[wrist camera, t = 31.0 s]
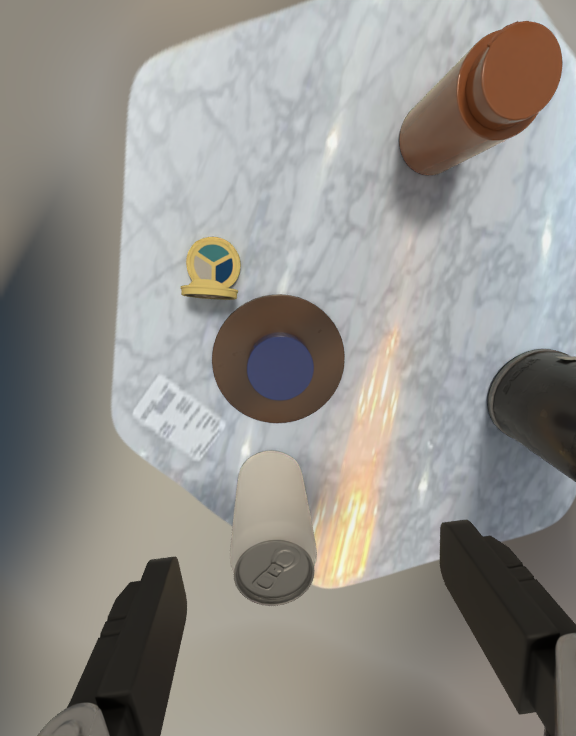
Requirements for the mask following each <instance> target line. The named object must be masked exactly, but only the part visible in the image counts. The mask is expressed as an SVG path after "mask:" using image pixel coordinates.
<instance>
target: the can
mask: <svg viewBox="0 0 576 736" xmlns="http://www.w3.org/2000/svg"><path fill="white" fill-rule="evenodd" d="M316 557H317V552H316V543H315V537H314V532H313V527H312V521H311V516H310V511H309V506H308V501H307V496H306V490H305V485H304V480H303V476H302V472H301V469H300V467H299V465H298V463H297V462H296V461H295V460H294V459H293V458H292V457H290V456H289V455H287V454H284V453H282V452H278V451H264V452H260V453H258V454H255V455H253V456H252V457H250V458H249V459H248V460H247V461H246V462H245V463H244V464H243V466H242V467H241V469H240V472H239V476H238V483H237V491H236V500H235V509H234V518H233V528H232V538H231V548H230V563H231V567H232V570H233V572H234V581H235V584H236V586H237V588H238V590H239V591H240V593H241V594H242V595H243V596H244V597H246V598H247V599H249V600H250V601H252V602H254V603H257V604H261V605H268V606H275V605H282V604H286V603H289V602H292V601H294V600H296V599H297V598H299V597H300V596H302V595H303V594H304V593H305V592H306V591H307V590H308V588H309V587H310V585H311V583H312V581H313V578H314V566H315V562H316Z"/></svg>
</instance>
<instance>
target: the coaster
mask: <svg viewBox="0 0 576 736" xmlns="http://www.w3.org/2000/svg"><path fill="white" fill-rule="evenodd" d="M277 332H282V333H288V334H291V335H294V336H295V337H297V338H299V339H300V340H301V341H302V342H303V343H304V344H305V345H306V347H307V349H308V350H309V352H310V354H311V357H312V359H313V365H314V371H313V376H312V379H311V382H310V384H309V385H308V387H307V388H306V389H305V390H304V391H303V392H302V393H301V394H299V395H298V396H296V397H294V398H291V399H288V400H272V399H268V398H266V397H264V396H262V395H261V394H259V393H258V392H257V391H256V390H255V389H254V388H253V386H252V385H251V383H250V381H249V378H248V375H247V363H248V357H249V353H250V351H251V349H252V347H253V346H254V343H256V342H257V341H258V340H259V339H261V338H262V337H264V336H266V335H268V334H272V333H277ZM212 366H213V372H214V377H215V380H216V382H217V385H218V387H219V389H220V391H221V392H222V394H223V395H224V397H225V398H226V399H227V400H228V402H229V403H230V404H231V405H232V406H233V407H235V408H236V409H237V410H238V411H240V412H242V413H243V414H245V415H247V416H249V417H251V418H253V419H256V420H259V421H264V422H269V423H286V422H292V421H296V420H299V419H302V418H304V417H307V416H309V415H311V414H312V413H314V412H316V411H317V410H318V409H320V408H321V407H322V406H323V405H324V404H325V403H326V402H327V401H328V400H329V399H330V398H331V396H332V395H333V394H334V392H335V390H336V389H337V387H338V385H339V383H340V380H341V377H342V374H343V369H344V347H343V343H342V339H341V336H340V334H339V332H338V330H337V328H336V326H335V324H334V323H333V322H332V320H331V319H330V318H329V317H328V316H327V315H326V314H325V313H324V312H323V311H322V310H321V309H320V308H318V307H317V306H316V305H314V304H312V303H310V302H309V301H307V300H304V299H302V298H299V297H295V296H291V295H282V294H278V295H267V296H262V297H259V298H256V299H253V300H251V301H249V302H247V303H245V304H243V305H242V306H240V307H239V308H238V309H236V310H235V311H234V312H233V313H232V314H231V315H230V316H229V317H228V318H227V319H226V321H225V322H224V324H223V325H222V327H221V328H220V330H219V332H218V334H217V337H216V340H215V343H214V347H213V352H212Z"/></svg>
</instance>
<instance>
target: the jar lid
mask: <svg viewBox="0 0 576 736" xmlns="http://www.w3.org/2000/svg"><path fill="white" fill-rule="evenodd" d="M313 371H314V365H313V359H312V357H311V354H310V352H309V350H308V349H307V347H306V345H305V344H304V343H303V342H302V341H301V340H300V339H299V338H297V337H295V336H294V335H291V334H288V333H282V332H277V333H272V334H268V335H266V336H264V337H262V338H261V339H259V340H258V341H257V342H256V343H254V346H253V347H252V349H251V351H250V353H249V357H248V363H247V375H248V378H249V381H250V383H251V385H252V386H253V388H254V389H255V390H256V391H257V392H258V393H259V394H261V395H262V396H264V397H266V398H268V399H272V400H288V399H291V398H294V397H296V396H298V395H299V394H301V393H302V392H303V391H304V390H305V389H306V388H307V387H308V385H309V384H310V382H311V379H312V376H313Z"/></svg>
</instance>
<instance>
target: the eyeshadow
mask: <svg viewBox="0 0 576 736" xmlns="http://www.w3.org/2000/svg"><path fill="white" fill-rule="evenodd" d="M227 245H228V246H227ZM186 265H187V270H188V273H189V276H190V277H191V279H192V280H193V281H192V282H191V283H190V284H189V285H184V286H181V289H182V295H183V296H187V297H194V298H205V299H222V300H232V299H237V293H238V290H235V289H231V288H229V287H230V286H231V285H233V284H234V282H235V281H236V280H237V278H238V276H239V273H240V258H239V255H238V253H237V251H236V250H235V248H234V247H233V246H232V245H231V244H230V243H229V242H228V241H226V240H224V239H221V238H218V237H207V238H203V239H201V240H198V241H196V242H195V243H194V244H193V245H192V247H191V248H190V250H189V252H188V255H187V260H186Z"/></svg>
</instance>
